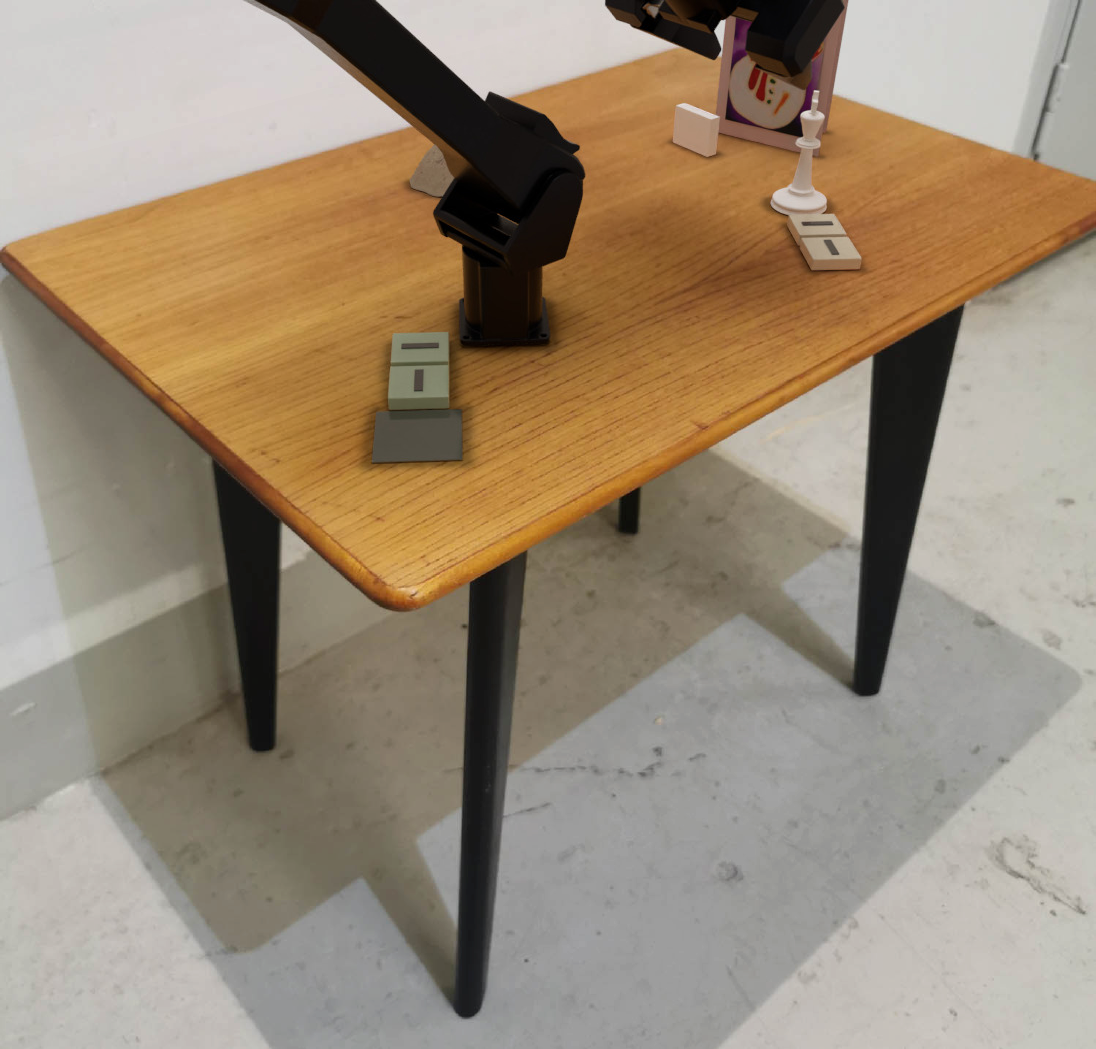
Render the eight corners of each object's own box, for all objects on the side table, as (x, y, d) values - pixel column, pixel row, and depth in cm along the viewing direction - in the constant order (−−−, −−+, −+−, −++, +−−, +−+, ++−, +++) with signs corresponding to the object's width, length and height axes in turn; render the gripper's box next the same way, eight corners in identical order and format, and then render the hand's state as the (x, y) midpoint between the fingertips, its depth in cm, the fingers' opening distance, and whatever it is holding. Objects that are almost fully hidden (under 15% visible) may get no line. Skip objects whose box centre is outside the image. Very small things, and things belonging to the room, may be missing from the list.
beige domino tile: (860, 269, 90) (862, 257, 90) (811, 270, 90) (813, 258, 90) (832, 224, 97) (834, 212, 96) (786, 225, 97) (788, 213, 96)
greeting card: (709, 134, 113) (726, -28, 104) (743, 113, 118) (762, -43, 108) (814, 159, 108) (841, -7, 99) (845, 136, 113) (874, -25, 104)
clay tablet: (495, 210, 99) (494, 180, 97) (402, 185, 103) (400, 156, 101) (577, 157, 108) (577, 129, 106) (489, 136, 112) (488, 109, 110)
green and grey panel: (462, 460, 70) (461, 445, 69) (371, 463, 69) (370, 448, 69) (460, 343, 81) (460, 329, 80) (382, 345, 81) (381, 331, 80)
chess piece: (770, 214, 98) (786, 99, 92) (770, 192, 102) (786, 80, 96) (827, 219, 98) (847, 103, 91) (825, 196, 102) (845, 83, 95)
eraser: (707, 157, 109) (710, 119, 106) (672, 142, 112) (675, 105, 109) (716, 154, 109) (720, 116, 107) (681, 140, 112) (684, 102, 110)
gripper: (853, -156, 69) (920, 4, 81) (641, -191, 80) (729, -45, 92) (751, 3, 70) (833, 137, 83) (555, -53, 81) (654, 73, 93)
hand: (760, 69), depth 88 cm, fingers open, 9 cm apart
